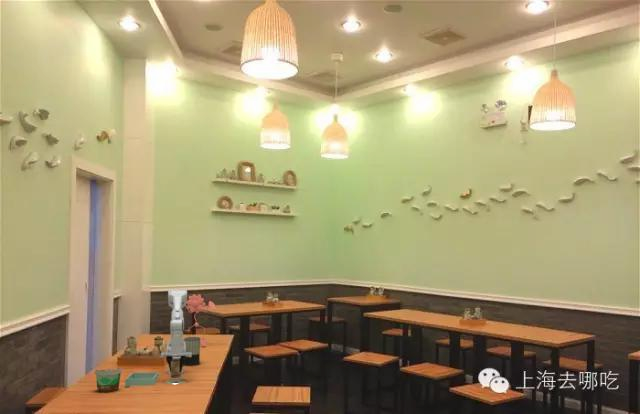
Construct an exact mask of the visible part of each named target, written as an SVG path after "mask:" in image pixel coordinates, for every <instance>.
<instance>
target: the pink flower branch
mask: <svg viewBox="0 0 640 414" xmlns="http://www.w3.org/2000/svg"><path fill="white" fill-rule="evenodd" d="M204 300H205V299H204V298H203V297H202V295H201V294H199V293H198V294H192V295H189V296H187V302H186V306H184V307H185V308H186V309H187V311H188V312H189V314H192V313H195V314H194V316H193V317H194V320H195V323H194V324H193V325H192V326H189V327H188V331H190V329H191V328H192V327H195V328H198V327H200V328H203V329H204V330H203V333H205V332H206V331H205V330H206V328H205V327H203V326H201V325H199V324H200V323H199V322H197V319H196V315H197V314H199V313H200V312H203V313H207V312H208V309H209V308H210V309H211V310H213V311H215V310H216V304H215V303H214V302H213V301H211V300H209V302H208V303H207V307H206V310H204V307H205V306H206V302H204ZM184 307H182V309H183V308H184ZM200 345H201V346H202V347H203V346H205V347H206V345H207V339H206V338H205V334H203V336H202V337H201V339H200Z"/></svg>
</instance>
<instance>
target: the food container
mask: <svg viewBox="0 0 640 414" xmlns="http://www.w3.org/2000/svg"><path fill="white" fill-rule="evenodd" d="M122 373H123V369H122V367H120V368H117V369H113V368H109V369H103V370H102V369H100V370H99V369H95V370H94V375H95V377H96V379H95V380H96V389H97V390H96V391H97V392H99V393H113V392H117V391H118V390H119V389H120V381H121V375H122Z"/></svg>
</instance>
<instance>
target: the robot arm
mask: <svg viewBox="0 0 640 414" xmlns="http://www.w3.org/2000/svg"><path fill="white" fill-rule="evenodd" d="M167 301H168V303H167V304H168V307H170V308H171V310H172V311H171V320H170V324H169V325H170V326H169V327H170V328H169V329H170V340H168V341H167V343H166V352H161V353H160V358H166V362H167V364H168V371H167V373H168V375H170V376H171V361H172V360H173V359H180V372H181V375H182V374H183V373H185V371H184V361H185V359H186V357H191V356H192V352H186V342H185V341H184V339H183V337H184V330H185V320H184V311H183V308H184V307H185V306H186V307H187V304H186V302H187V301H188V290H187V289H176V290H175V289H173V290H172V289H168V292H167ZM182 307H183V308H182Z"/></svg>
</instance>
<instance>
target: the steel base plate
mask: <svg viewBox="0 0 640 414" xmlns="http://www.w3.org/2000/svg"><path fill="white" fill-rule="evenodd" d="M186 382H187V380H186V379H183V378H182V379H181V378H172V379H168V380H165V382H164V383H165V384H166V385H167V384H168V385H181V384H184V383H186Z"/></svg>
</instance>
